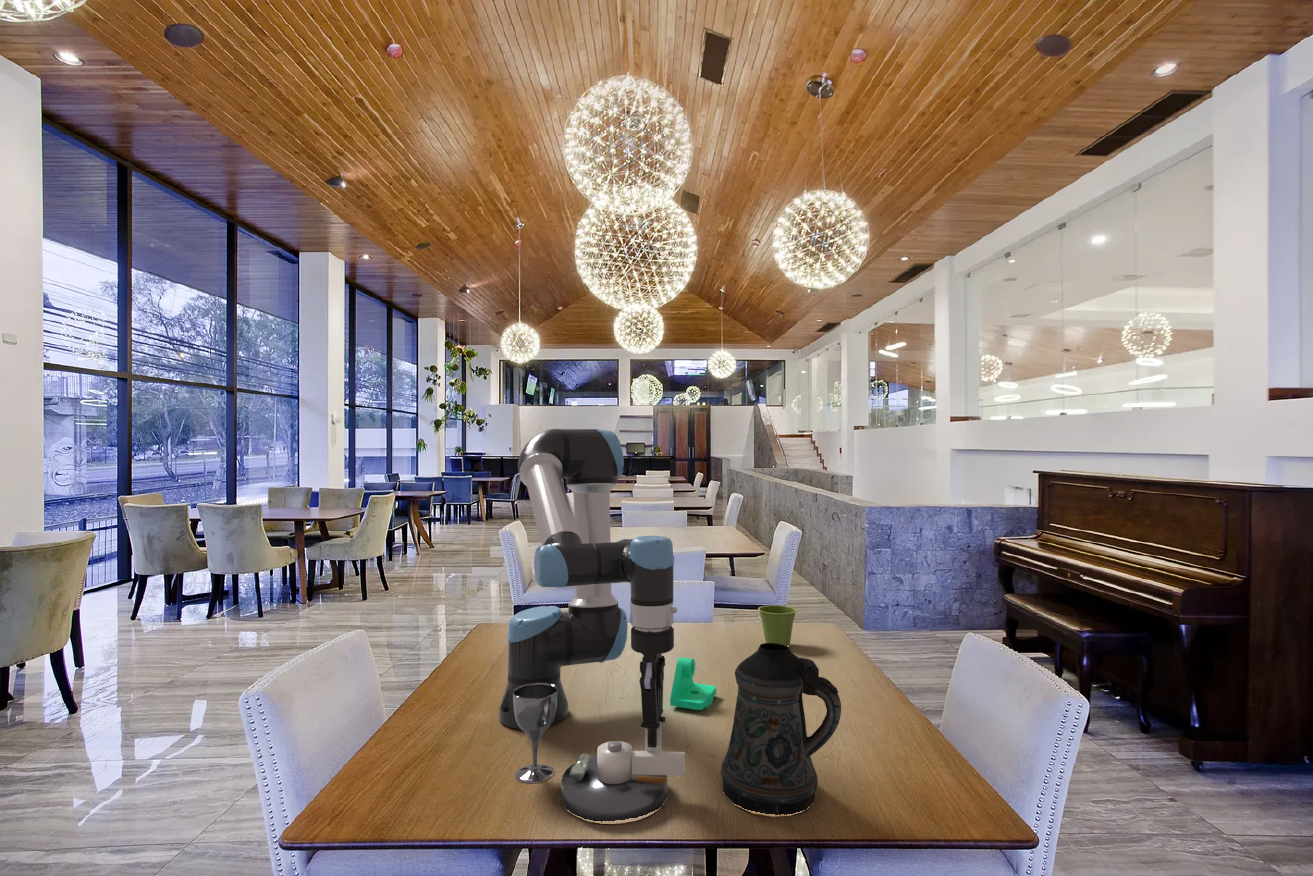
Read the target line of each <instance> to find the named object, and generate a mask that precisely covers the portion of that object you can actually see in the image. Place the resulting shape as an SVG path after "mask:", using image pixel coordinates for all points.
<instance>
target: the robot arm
mask: <svg viewBox="0 0 1313 876" xmlns="http://www.w3.org/2000/svg"><path fill="white" fill-rule="evenodd" d="M624 464H625V461H624V452H623V448H622V444H621V442H620V439H619V437H618V436H617V435H616V433H615V432H613V431H611V430H607V429H606V430H605V429H598V428H593V429H591V428H589V429H588V428H587V429H584V428H578V429H577V428H575V429H573V428H567V429H564V428H550V429H547V430H544V431H541V432H539V433H536V435H534V436H533V437H532V438H531V439H529V441H527V442H526V444H525V445H524V446H523V448H522V450H521V452H520V453H519V458H518V463H517V469H518V474H519V478H520V480H521V483H523V485H525V486H526V487H527V492H528V496H529V500H530V504H531V508H532V512H533V516H534V521H535V524H536V525H535V526H536V528H537V532H538V537H539V541H540V545H539V546H538V547H537V548H536V549H535V552H534V557H533V558H534V559H533V569H534V578H535V581H536V583H537V585H539V586H540V587H541V588H566V587H567V588H569V587H574V597H573V598H571V600H570V601H569V602H568V611H567V612H562V610H561V608H560V607H558V606H555V605H549V606H547V605H542V606H535V607H530V608H527V609H524V610H521V611H519V612H517V613H516V614H514V615H513V616H512V617H510V620H509V622H508V629H507V630H508V631H507V637H506V640H507V683H506V686H505V687H506V688H505V690H504V693H503V695H502V699H501V703H500V706H499V710H498V711H499V713H498V714H499V715H498V719H499V722H500V723H501V724H502V725H504V726H506V727H508V728H511V729H515V730H522V729H521V728H520V727H519V726H518V724H517V722H516V718H515V714H514V707H513V692H514V690H515V689H516V688H517V687H519V686H522V685H525V684H531V683H547V684H552V685H554V686H556V687H557V706H556V712H555V716H554V720H553V722H552V723H551V725H550V726H549V727H548V728H550V727H552V726H557V725H558V724H560V723H562V722H563V721H564V720H566V718H567V717H568V715H569V703H568V700H567V695H566V694H565V693H566V692H565V690H564V686H563V683H562V680H561V668H562V667H566V666H567V667H568V666H574V665H575V666H576V665H581V664H584V665H585V664H592V663H599V664H601V663H604V662H608V661H614V660H616V659H618V658H620V657H621V655H622V654H623V652H624V651H625V647H626V644H627V640H628V639H627V638H628V621H627V619H628V617H627V613H626V611H625V609H623V608H621V607H620V606H619V600H618V599H617V598H615V596H614V595H613V593H612V590H613V589H612V584H618V583H629V584H630V625H631V626H632V628H630V647H631V649H632V651H634V652H636V653H640V654H641V655H643V656H642V659H641V661H639V672H640V673H641V674H640V675H641V677H639V686H640V694H641V712H642V713H641V714H642V715H641V716H642V721H641V723H640V725H639V726H640V728H643V729H644V751H658V752H663V750H662V743H663V742H662V741H663V740H662V734H663V733H662V723H666V719H667V718H666V716H662V714H663V713H664V708H663V707H664V704H663V702H664V680H665V673H664V672H665V665H666V657H665V656H664V655H663V654H665V653H666V654H667V653H668V652H671V651H672V650H673V649H674V647H675V629H674V627H673V626H672V625H674V614H677V612H678V608H677V607H674V562H675V555H674V547H673V541H672V539H671V538H669V537H667V536H662V535H661V536H660V535H641V536H636V537H634V538H632V539H630V538H623V539H619V540H618V541H615V542H613V541H612V542H611V508H610V506H611V503H610V499H611V498H610V496H611V495H610V494H611V493H610V492H611V490H612V489H614V488H615V486H616V479H619V478H620V477H622V475H623V472H624ZM562 479H566V487H567V488H568V489H569V490H570V491H571V492H572V494H573V510H572V507H571V504H570V500H569V497H568V494H567V491H566V488H565V486H564V482H563V480H562Z"/></svg>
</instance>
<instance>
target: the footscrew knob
mask: <svg viewBox="0 0 1313 876" xmlns="http://www.w3.org/2000/svg"><path fill="white" fill-rule="evenodd" d="M596 751H597V752H596V755H597V777H598V779H599V780H600V781H602V782H604V783H608V784H619V783H624V782H626V781H628V780H629V779H631V777H632V774H642V775H667V776H685V774H686V754H685V753H686V752H685V751H662V752H658V751H645V750H633V746H632V745H631V744H630V743H627V742H625V741H618V740H617V741H616V740H615V741H614V740H613V741H607V742H606V741H605V742H604V743H602V744H600V745H598V747H597V750H596Z"/></svg>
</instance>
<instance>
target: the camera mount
mask: <svg viewBox="0 0 1313 876" xmlns="http://www.w3.org/2000/svg"><path fill="white" fill-rule="evenodd" d="M674 671H675V672H674V676H673V681H672V686H671V692H670V698H669V705H670V706H671V707H677V708H684V709H691V710H697V711H701V710H704V709H705V710H706V709H708V708H709V707H710V706H711V705H712V703H713V701H714V698H715V696H716V695H717V686H716V685H712V684H704V683H697V682H694V680H693V678H694V675H695V673H696V661H695V659H694V658H689V657H682V656H680V657H679V658H678V659H677V661H676V665H675V670H674ZM709 705H710V706H709Z"/></svg>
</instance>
